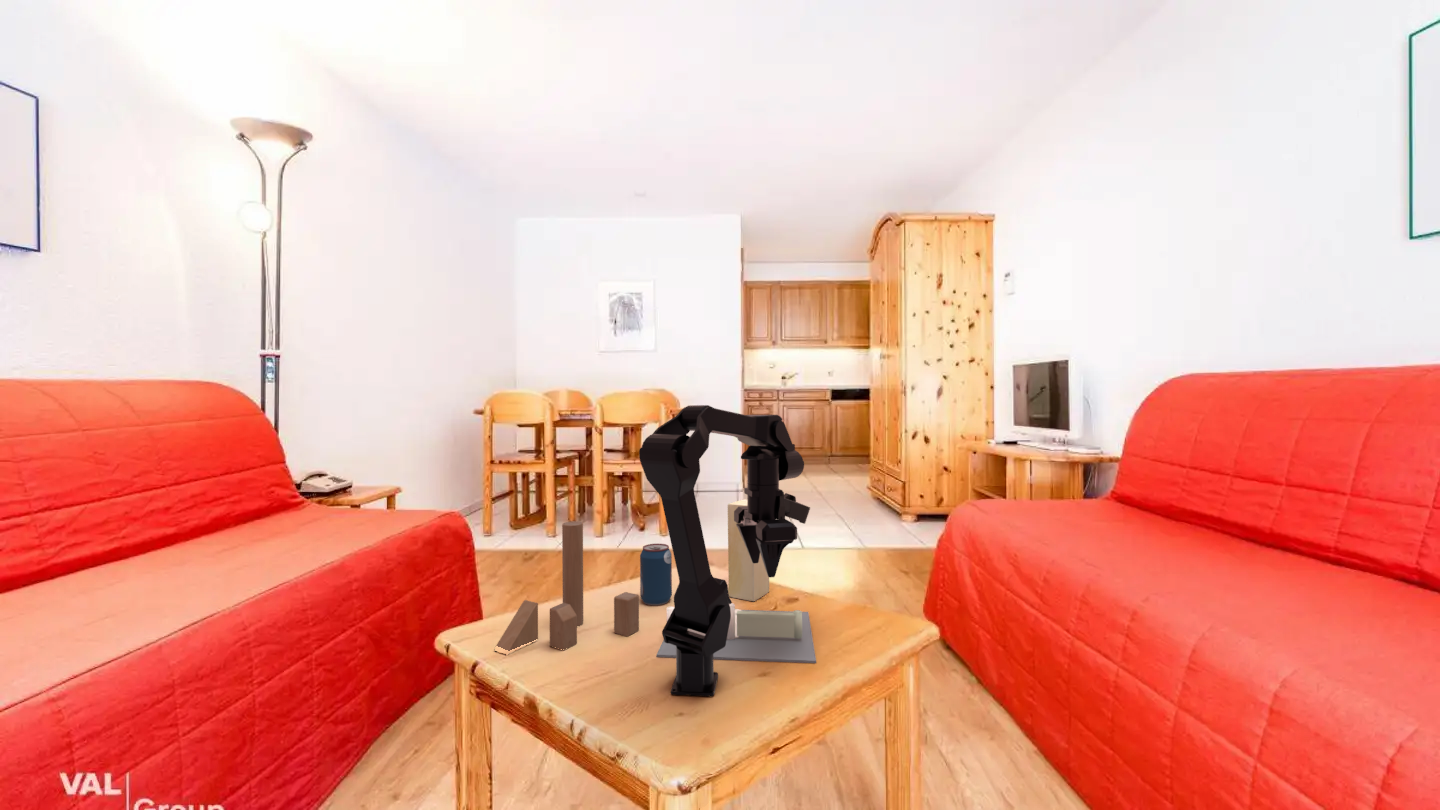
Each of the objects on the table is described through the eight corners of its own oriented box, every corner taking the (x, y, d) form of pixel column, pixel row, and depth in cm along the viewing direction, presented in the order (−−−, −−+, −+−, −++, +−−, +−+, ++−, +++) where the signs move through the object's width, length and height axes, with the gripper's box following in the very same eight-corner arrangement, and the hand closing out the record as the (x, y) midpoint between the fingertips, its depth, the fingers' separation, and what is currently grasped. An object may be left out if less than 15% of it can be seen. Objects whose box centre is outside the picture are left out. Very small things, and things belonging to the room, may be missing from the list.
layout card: (816, 663, 91) (815, 624, 91) (656, 657, 93) (656, 619, 94) (808, 613, 113) (807, 582, 113) (679, 609, 115) (678, 579, 115)
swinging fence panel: (802, 638, 98) (802, 613, 98) (736, 636, 99) (736, 611, 99) (802, 634, 100) (801, 610, 100) (737, 632, 101) (737, 608, 101)
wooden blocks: (493, 651, 96) (492, 537, 96) (574, 614, 113) (574, 518, 113) (563, 674, 88) (562, 549, 88) (639, 630, 105) (639, 526, 105)
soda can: (678, 600, 121) (678, 546, 121) (654, 608, 116) (654, 552, 116) (657, 593, 126) (656, 541, 126) (633, 601, 121) (633, 547, 121)
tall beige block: (742, 586, 130) (741, 498, 130) (769, 591, 126) (769, 500, 127) (725, 596, 123) (724, 503, 124) (754, 602, 120) (753, 506, 120)
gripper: (825, 488, 92) (826, 581, 92) (786, 476, 110) (786, 554, 110) (763, 491, 90) (763, 586, 89) (733, 478, 108) (733, 557, 107)
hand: (763, 569), depth 99 cm, fingers open, 9 cm apart
